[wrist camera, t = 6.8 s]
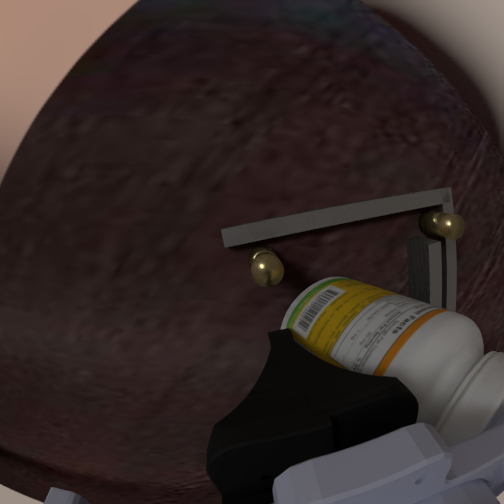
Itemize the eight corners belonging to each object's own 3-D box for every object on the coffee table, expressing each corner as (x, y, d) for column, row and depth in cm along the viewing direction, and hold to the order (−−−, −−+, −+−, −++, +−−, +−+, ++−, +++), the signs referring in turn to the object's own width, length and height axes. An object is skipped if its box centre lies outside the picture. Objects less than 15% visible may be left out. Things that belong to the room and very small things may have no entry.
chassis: (443, 375, 16) (463, 393, 13) (270, 432, 15) (275, 461, 13) (445, 187, 13) (474, 187, 11) (221, 228, 13) (218, 235, 11)
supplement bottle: (358, 368, 15) (493, 455, 6) (270, 383, 13) (403, 532, 4) (375, 274, 14) (549, 325, 5) (282, 273, 13) (500, 369, 3)
